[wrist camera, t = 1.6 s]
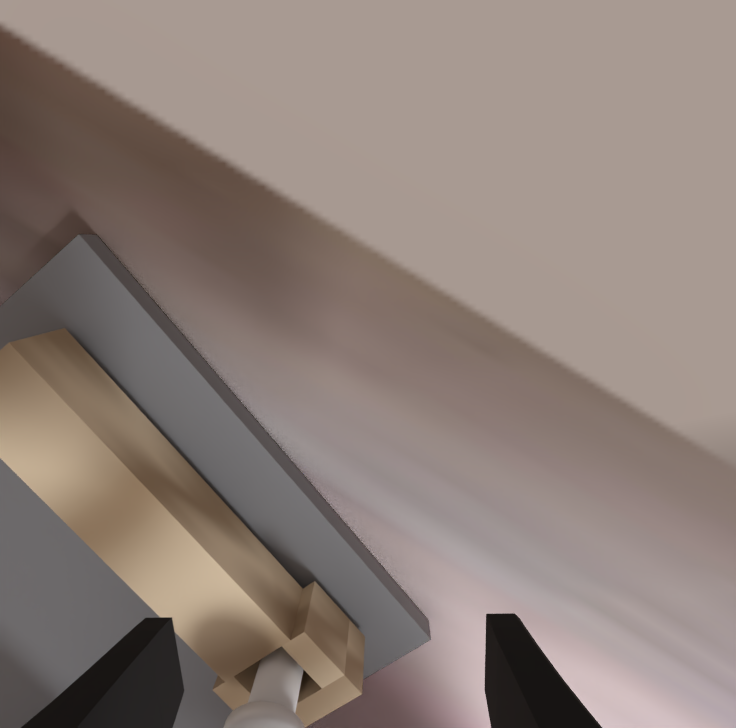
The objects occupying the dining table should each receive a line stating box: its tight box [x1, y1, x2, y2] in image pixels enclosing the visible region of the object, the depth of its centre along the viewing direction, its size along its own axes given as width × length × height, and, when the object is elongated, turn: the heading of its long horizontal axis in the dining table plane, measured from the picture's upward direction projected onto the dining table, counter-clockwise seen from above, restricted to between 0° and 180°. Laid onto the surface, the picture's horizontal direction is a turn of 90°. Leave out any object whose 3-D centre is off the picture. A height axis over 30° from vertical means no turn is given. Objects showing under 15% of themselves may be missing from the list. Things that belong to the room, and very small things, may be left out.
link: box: [0, 328, 365, 727], centre depth 17 cm, size 16×4×2 cm, turn 38°
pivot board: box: [0, 234, 431, 728], centre depth 18 cm, size 24×20×6 cm
